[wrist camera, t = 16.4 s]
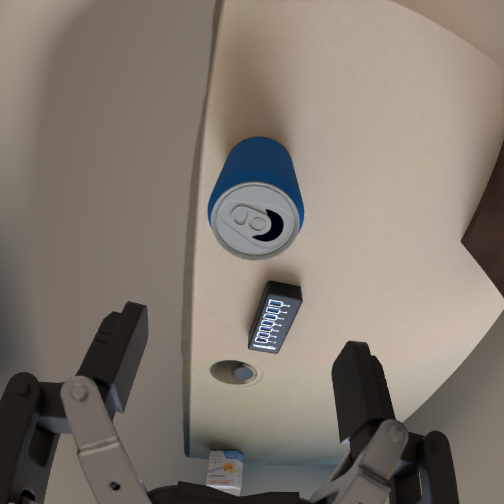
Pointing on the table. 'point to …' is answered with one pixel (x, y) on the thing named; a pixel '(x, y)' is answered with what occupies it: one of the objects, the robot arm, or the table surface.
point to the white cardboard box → (225, 471)
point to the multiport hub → (274, 316)
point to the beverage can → (256, 201)
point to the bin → (490, 228)
